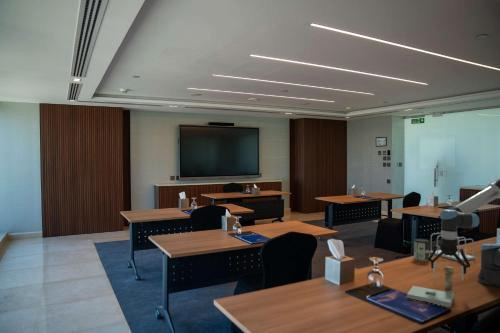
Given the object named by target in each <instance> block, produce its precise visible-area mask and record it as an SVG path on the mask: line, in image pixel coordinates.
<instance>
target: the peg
mask: <svg viewBox="0 0 500 333" xmlns="http://www.w3.org/2000/svg"><path fill="white" fill-rule="evenodd" d="M443 272H444V292H449V293H453V274H454V267H452V266H448V265H446V266H443Z"/></svg>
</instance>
